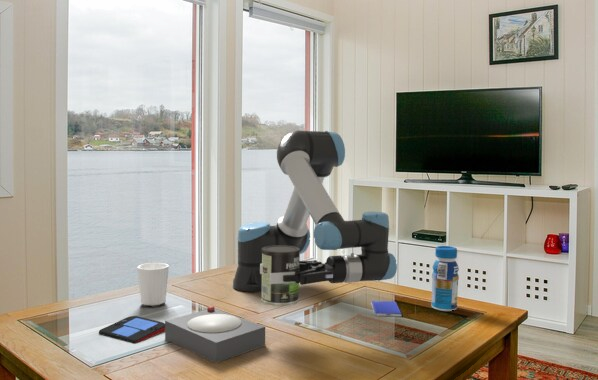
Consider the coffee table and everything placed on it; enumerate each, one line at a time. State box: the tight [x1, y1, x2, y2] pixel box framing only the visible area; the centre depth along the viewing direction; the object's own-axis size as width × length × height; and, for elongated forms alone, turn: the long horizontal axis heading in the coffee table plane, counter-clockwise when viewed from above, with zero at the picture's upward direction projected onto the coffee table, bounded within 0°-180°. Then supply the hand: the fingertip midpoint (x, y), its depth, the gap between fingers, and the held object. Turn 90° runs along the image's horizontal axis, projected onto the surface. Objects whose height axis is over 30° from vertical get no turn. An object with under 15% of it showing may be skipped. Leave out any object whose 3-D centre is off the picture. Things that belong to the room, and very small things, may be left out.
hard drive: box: [370, 300, 403, 317], centre depth 168 cm, size 2×8×12 cm
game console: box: [98, 315, 165, 344], centre depth 145 cm, size 14×13×2 cm
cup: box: [136, 262, 170, 308], centre depth 169 cm, size 10×10×13 cm
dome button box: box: [164, 305, 266, 364], centre depth 138 cm, size 22×16×6 cm
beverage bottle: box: [430, 245, 460, 312], centre depth 170 cm, size 8×8×20 cm
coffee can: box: [260, 245, 301, 307], centre depth 140 cm, size 10×10×14 cm
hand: (265, 273), depth 139 cm, fingers closed on coffee can, 10 cm apart
